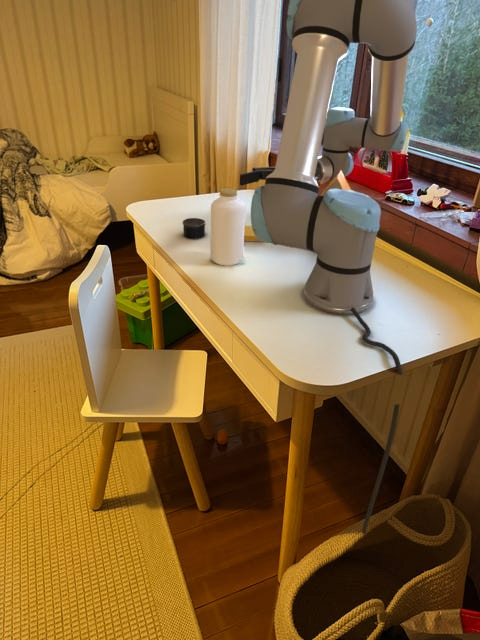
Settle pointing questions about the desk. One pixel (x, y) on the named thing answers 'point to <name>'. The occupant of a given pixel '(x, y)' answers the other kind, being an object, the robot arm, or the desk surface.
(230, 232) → the potion bottle
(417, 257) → the desk surface
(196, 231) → the dark tin
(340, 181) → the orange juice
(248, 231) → the mustard block
